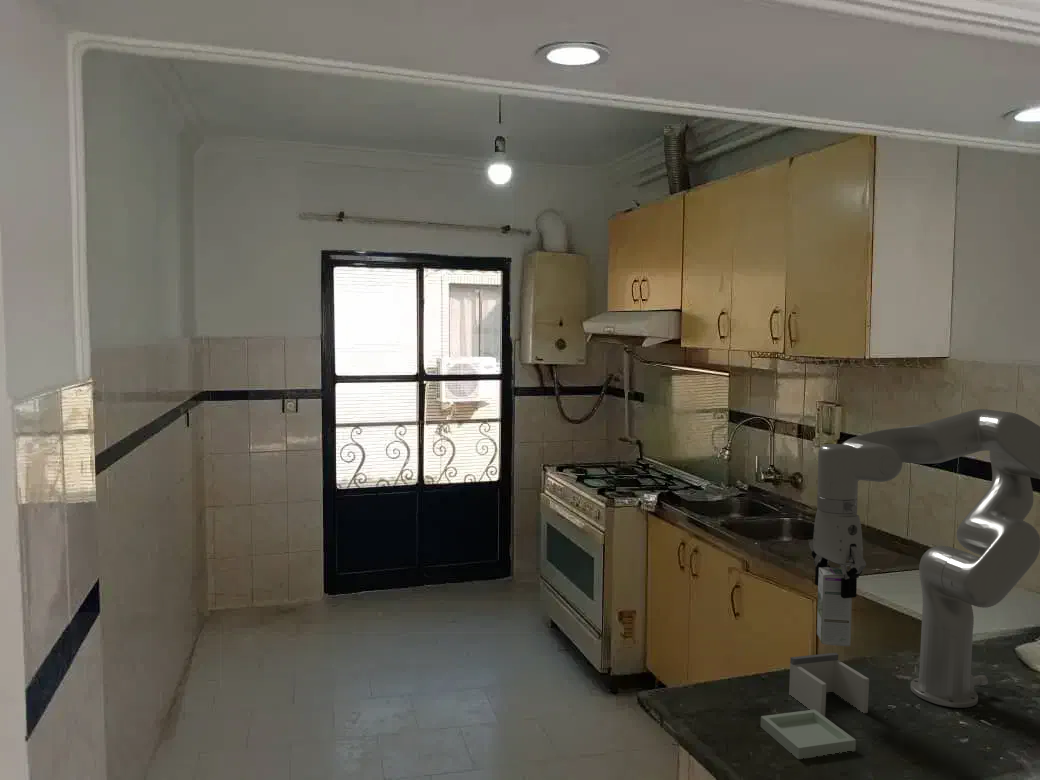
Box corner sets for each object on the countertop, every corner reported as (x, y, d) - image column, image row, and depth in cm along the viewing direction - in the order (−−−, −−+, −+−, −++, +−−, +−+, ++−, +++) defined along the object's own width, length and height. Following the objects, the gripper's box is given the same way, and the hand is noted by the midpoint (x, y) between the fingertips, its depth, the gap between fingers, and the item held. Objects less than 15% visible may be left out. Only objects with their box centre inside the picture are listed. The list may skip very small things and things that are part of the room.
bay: (833, 689, 166) (835, 652, 165) (867, 712, 156) (869, 673, 155) (789, 695, 163) (790, 657, 163) (820, 718, 153) (822, 678, 152)
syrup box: (851, 647, 155) (854, 575, 154) (820, 644, 156) (823, 573, 155) (844, 636, 161) (848, 567, 160) (815, 634, 162) (817, 565, 161)
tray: (814, 719, 153) (814, 709, 152) (855, 751, 141) (855, 739, 141) (760, 726, 149) (760, 716, 149) (798, 759, 138) (798, 748, 138)
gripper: (883, 513, 149) (881, 603, 150) (825, 496, 166) (823, 576, 167) (850, 516, 147) (848, 607, 148) (795, 498, 164) (793, 579, 165)
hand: (835, 590), depth 158 cm, fingers closed on syrup box, 7 cm apart
